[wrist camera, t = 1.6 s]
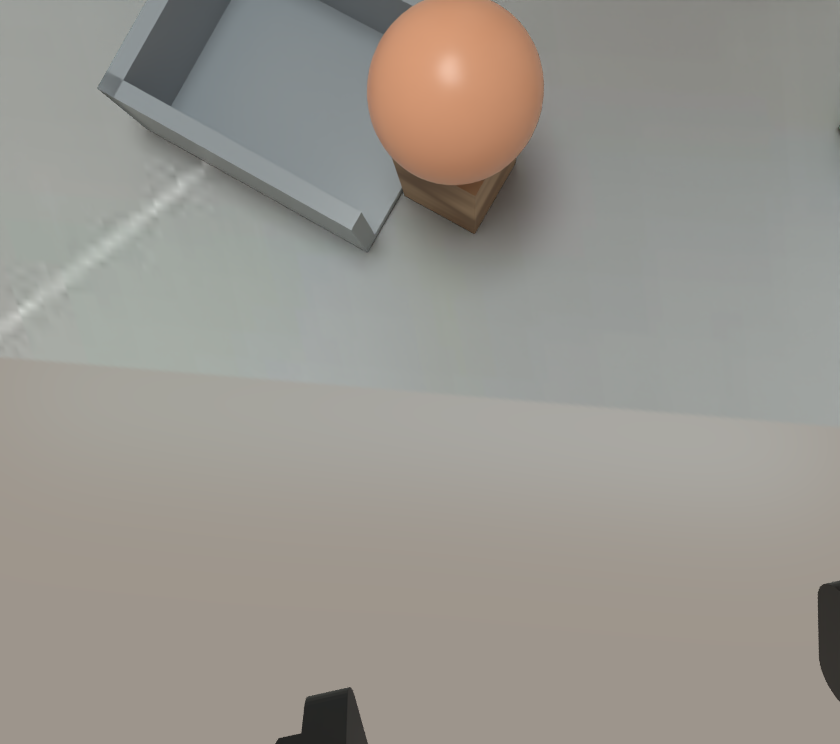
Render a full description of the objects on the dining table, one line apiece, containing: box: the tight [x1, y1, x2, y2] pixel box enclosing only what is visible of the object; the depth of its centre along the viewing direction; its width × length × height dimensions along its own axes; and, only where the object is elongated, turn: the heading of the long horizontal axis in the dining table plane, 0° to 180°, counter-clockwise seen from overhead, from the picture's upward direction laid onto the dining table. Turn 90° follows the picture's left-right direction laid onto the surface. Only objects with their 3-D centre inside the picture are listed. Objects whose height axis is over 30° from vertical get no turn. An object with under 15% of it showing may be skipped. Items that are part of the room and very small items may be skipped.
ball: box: [367, 0, 544, 185], centre depth 26 cm, size 7×7×7 cm
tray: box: [97, 0, 424, 252], centre depth 35 cm, size 15×12×5 cm
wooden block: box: [392, 158, 516, 234], centre depth 33 cm, size 4×4×7 cm
